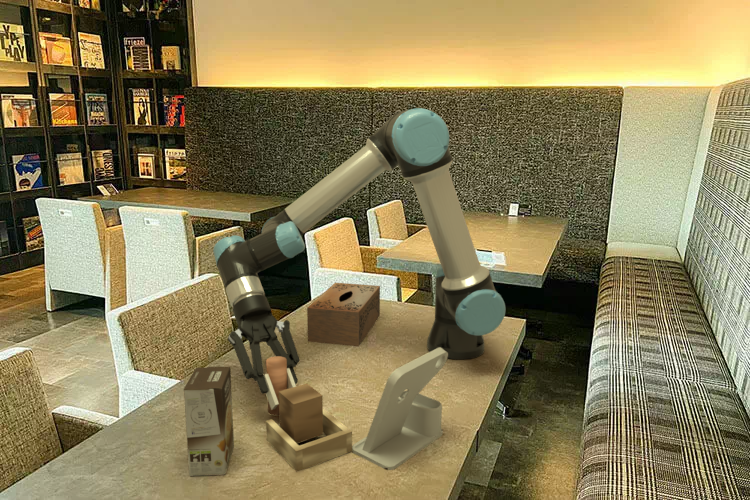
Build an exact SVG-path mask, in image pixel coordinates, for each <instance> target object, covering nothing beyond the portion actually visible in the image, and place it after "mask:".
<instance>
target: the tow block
mask: <svg viewBox="0 0 750 500" xmlns="http://www.w3.org/2000/svg"><path fill="white" fill-rule="evenodd" d="M265 361H266V366H265V367H266V374H268V375H269V378H270V380H271V383H272V386H273V389H274V391H275V394H276V397H277V400H278V403H279V405H278V406H277V407H276V408H275V409H273V410H271V407H270V404H269V402H268V401H267V413H268V414H269V415H271V416H279V418H278V419H279V427H280V428H281V429H282V430H283V431H284V432H285V433H286V434H288V435H289V436H290V437H291V438H292V439H293V440H294V441H295V442H296V443H297V444H299V443H302V442H305V441H308V440H310V439H311V440H312V439H313V438H316V437H319V436H322V435H324V433H323V408H324V406H323V403H324V402H323V398H324V397H323V394H321V393H320V392H318V390H316V389H315V388H313V387H312V386H311V385H309V384H308V383H304V384H301V385H296V387H293V388H289V389H287V359H286V358H285V357H281V356H275V355H274V356H271V357H268V358H267V359H266V360H265Z"/></svg>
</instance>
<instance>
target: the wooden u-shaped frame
mask: <svg viewBox="0 0 750 500" xmlns="http://www.w3.org/2000/svg"><path fill="white" fill-rule="evenodd" d="M265 431H266V435H265V436H266V441H267V442H268V444H270V446H272V448H273V449H274V450H275V451H276V452H277V453H278V454H279V455H280V457H282V458H283V459H284V460H285V461H286V462H287V463H288V464H289V466H290V467H291V468H292V469H293V470H294V471H295V472H296V473H298V472H300V471H304V470H305V469H308V468H311V467H314V466H316V465H319V464H322V463H324V462H328V461H330V460H333V459H335V458H338V457H339V456H343V455H346V454H347V453H351V452H352V446H353V430H351V429H350V428H349V427H347V426H346V425H345V424H343V423H342V422H341V421H340V420H338V419H337V418H336V417H335V416H333V415H332V414H331V412H329V411H327V410H326V409H325V408H324V407H323V435H325V436H324V437H321V438H318V439H315V440H312V441H309V442H306V443H304V444H300V445H299V443H296V442H295V441H294V440H293V439H292V438H291V437H290V436H289V435H288V434H286V433H285V432H284V431H283V430H282V429H281V428H280V425H279V424H278V423H276V422H275V420H273V419H268V420H265Z"/></svg>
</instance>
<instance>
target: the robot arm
mask: <svg viewBox="0 0 750 500" xmlns="http://www.w3.org/2000/svg"><path fill="white" fill-rule="evenodd" d="M449 144H450V131H449V129H448V126H447V124H446V123H445V121H444V119H443V118H442V117H441V116H440V115H438V113H435V112H434V111H432V110H429V109H426V108H421V107H418V108H417V107H415V108H412V109H405V110H404V109H403V110H401V111H398V112H397V113H395V114H393V115H392V116H391V117H390V118H389V119H388V120H386V121H385V123H384V124H383V125H382V126H381V127H380V128H378V130H376V131H375V132H374V133H372V135H370V136H369V137H368V138H367V139H366V143H365V146H363V147H361V149H359V150H358V151H357V152H355V153H354V154H353V155H351V156H350V157H349V158H348V159H346V161H344V162H342V164H340V165H339V166H338V167H336V168H335V169H334V170H332V171H331V172H330V173H329V174H328V175H326V176H325V177H324V178H322V179H321V180H319V182H317V183H316V184H315V185H313V186H312V187H311V188H309V189H308V190H307V191H306V192H305V193H303V194H302V195H300V196H299V197H298V198H296V199H295V200H294V201H293V202H292V203H290V204H289V205H288V206H286V208H284V209H283V210H281V211H280V212H279V213H278V214H277V215H275V216H272V217H270V218H269V219H267V220H266V222H264V224H263V226H262V229H261V233H260V234H258V235H256V236H253V237H252V238H250V239H246V240H245V239H244V238H243V236H239V235H231V236H226V237H223V238H221V239H220V240H218V241H217V242H216V243H215V244H214V246H213V251H212V252H213V255H214V260H215V264H216V268H217V270H218V272H219V275H220V278H221V279H222V283H223V285H224V288H225V292H226V294H227V295H226V296H227V298H228V300H229V304H230V307H232V312H233V315H234V318H235V321H236V324H237V329H236V330H235V331H234V330H233V331H231V332H230V334H229V335H228V337H227V341H228V342H229V344H231V345H232V347H233V349H234V352H235V354H236V356H237V359H238V362H239V364H240V366H241V370H242V372H243V376H244V378H245V379H246V380H250V379H253V381H254V382H256V383H257V386H258V388H259V392H260V394H261V395H266V398H267V403H268V402H269V404H270V407H271V410H273V409H275V408H276V407H277V406H278V405H279V403H278V400H277V397H276V394H275V391H274V389H273V386H272V383H271V380H270V378H269V375H268V374H267V373H265V372H264V366H263V360H262V359H263V357H262V352H261V343H263V342H264V343H266V345H267V346H269V348H270V349H271V351H272V353H273V354H274V357H275V356H281V357H285V358H286V359H287V389H289V388H293V387H296V386H297V384H298V382H299V380H298V376H297V374H296V372H295V371H296V370H295V369H294V368H296V367H297V366H298V364H299V363H300V361H301V359H300V356H299V354H298V351H297V348H296V344H295V341H294V339H293V336H292V333H291V331H290V328H291V325H290V324H291V323H290V321H289V320H288V319H286V320H284V321H280V320H279V321H278V320H277V318H276V317H275V316H274V315H273V313H272V309H271V307H270V304H269V301H268V298H267V297H266V293H265V291H264V287H263V286H262V283H261V280H260V277H259V275H258V273H260V272H262V271H264V270H267V269H269V268H271V267H273V266H275V265H278V264H279V263H281V262H284V261H286V260H289V259H293V258H294V257H295V256H297V255H299V254H301V253H302V252H303V251H305V248H306V244H305V242H304V239H303V237H302V235H304V234H305V233H306V232H308V231H309V230H310V229H311V228H313V227H314V226H315V225H317V223H319V222H320V221H322V220H323V219H324V218H326V217H327V216H328V215H330V214H331V213H332V212H333V211H335V210H336V209H337V208H338V207H340V206H341V205H342V204H343V203H345V202H346V201H348V200H349V199H350V198H351V197H352V196H354V195H355V194H356V193H358V192H359V191H361V189H363V188H364V187H366V186H367V185H368V184H369V183H371V182H372V181H373V180H375V178H377V177H378V176H380V175H381V174H382V173H383V172H385V171H388V172H389V171H390V172H391V171H393V170H394V169H395V168H396V167H398V166H399V170H400V172H401V175H402V178H403V179H404V180H407V181H409V182H411V184H412V186H413V189H414V191H415V192H414V193H415V195H416V198H417V200H418V203H419V205H420V208H421V209H420V210H421V212H422V215H423V217H424V220H425V223H426V226H427V228H428V231H429V235H430V237H431V240H432V243H433V246H434V249H435V252H436V254H437V257H438V260H439V263H440V265H439V266H438V267H437V269H436V273H435V303H434V305H435V306H434V321H433V324H432V327H431V329H430V331H429V334H428V337H427V340H426V341H427V342H426V343H427V345H426V346H427V347H426V348H427V350H428V351H429V352H431V351H433V350H435V349H437V348H439V347H441V348H442V349H443V350H445V351H446V352H447V353H448V357H447V359H450V360H451V359H452V360H469V359H475V358H477V357H480V356H482V355H483V354H484V352H485V340H484V336H485V335H488V334H490V333H492V332H494V331H495V330H496V329H497V328H499V327H500V326H501V323H502V322H503V320H504V319H505V316H506V303H505V301H504V298H503V297H502V294H500V293H498V291H497V290H496V287H495V286H494V283H493V279H492V276H491V273H490V270H489V268H487V267H485V266H483V265H481V264H480V261H479V258H478V257H479V256H478V254H477V252H476V249H475V246H474V242H473V239H472V237H471V234H470V230H469V227H468V224H467V222H466V218H465V216H464V213H463V209H462V207H461V206H462V205H461V203H460V201H459V197H458V195H457V191H456V189H455V185H454V183H453V179H452V177H451V173H450V168H451V166H452V164H453V156H452V155H451V151H450V148H449ZM276 328H277V330H278V333H280V337H281V340H282V343H283V345H282V344H281V342H280V340H279V338H278V335H277V333H276ZM243 338H245V340H247V341H248V342H249V343H248V344H249V349H250V353H251V359H250V357H249V354H248V351H247V349H246V347H245V343H244V342H243V340H242V339H243ZM283 346H284V347H283ZM264 373H265V374H264Z"/></svg>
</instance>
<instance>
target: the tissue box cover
mask: <svg viewBox="0 0 750 500" xmlns="http://www.w3.org/2000/svg"><path fill="white" fill-rule="evenodd" d="M380 304H381V286H380V285H375V284H374V285H371V284H370V285H369V284H356V283H346V282H334V283H333V284H332V285H331V286H330V287H329V288H328V289H326V290H325V291H324V292H323V293H322V294H320V296H318V298H317V299H315V300H314V301H313V302H312V303H311V304H309V306H308V307H306V308H307V310H306V311H307V313H306V314H307V342H308V343H309V342H311V343H317V344H318V343H319V344H320V343H321V344H328V345H338V346H339V345H340V346H349V347H360V345H361V344H362V342H363V341H364V339H365V338H366V337H367V335H368V333H369V332H370V331H371V329H372V328H373V326H374V325H375V324H376V322H377V321H378V319H379V318H380V316H381V305H380ZM378 317H379V318H378ZM376 320H377V321H376Z"/></svg>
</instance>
